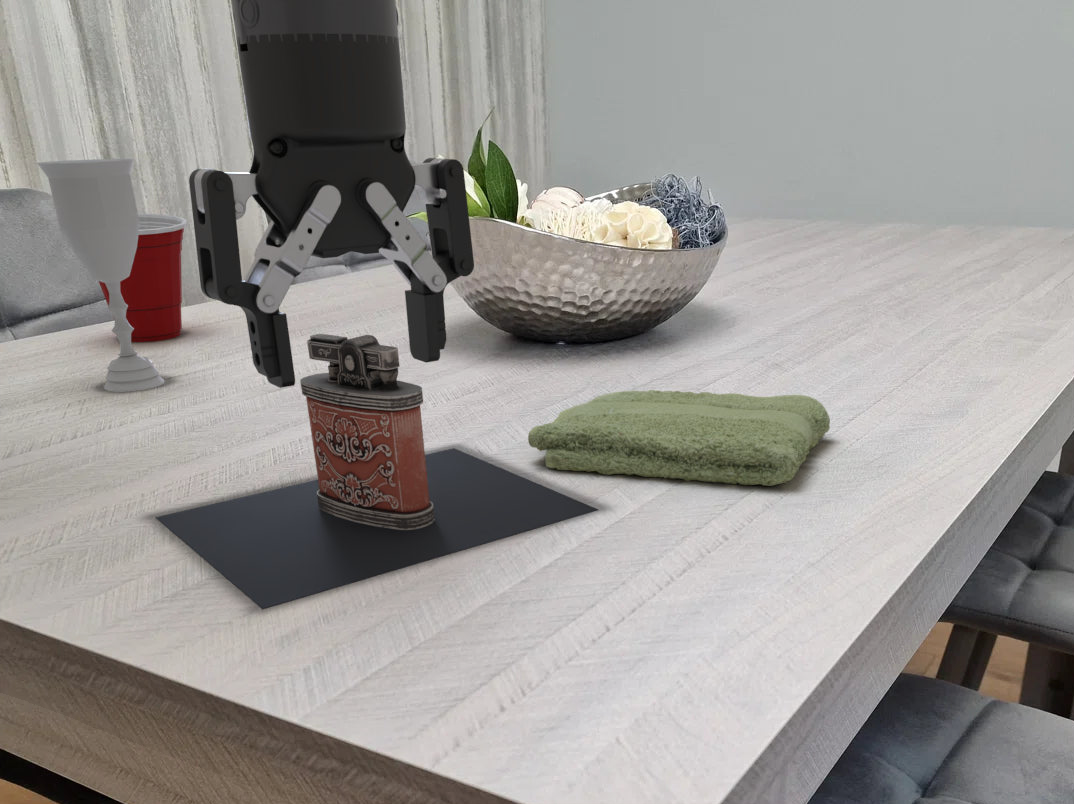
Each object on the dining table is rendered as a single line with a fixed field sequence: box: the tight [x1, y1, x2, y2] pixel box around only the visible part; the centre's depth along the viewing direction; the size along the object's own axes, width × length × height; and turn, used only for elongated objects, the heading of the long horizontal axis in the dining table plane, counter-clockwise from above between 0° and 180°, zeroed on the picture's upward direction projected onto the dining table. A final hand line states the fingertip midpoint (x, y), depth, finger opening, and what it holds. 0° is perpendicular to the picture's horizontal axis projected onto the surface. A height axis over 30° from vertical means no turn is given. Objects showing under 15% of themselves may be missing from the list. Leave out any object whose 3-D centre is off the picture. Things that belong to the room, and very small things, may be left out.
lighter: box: [299, 333, 435, 530], centre depth 58 cm, size 8×3×10 cm, turn 56°
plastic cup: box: [98, 213, 188, 343], centre depth 107 cm, size 11×11×12 cm
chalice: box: [37, 158, 165, 393], centre depth 86 cm, size 7×7×18 cm
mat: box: [155, 447, 600, 610], centre depth 60 cm, size 20×16×1 cm
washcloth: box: [527, 389, 831, 487], centre depth 69 cm, size 13×18×3 cm
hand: (356, 371), depth 56 cm, fingers open, 8 cm apart
